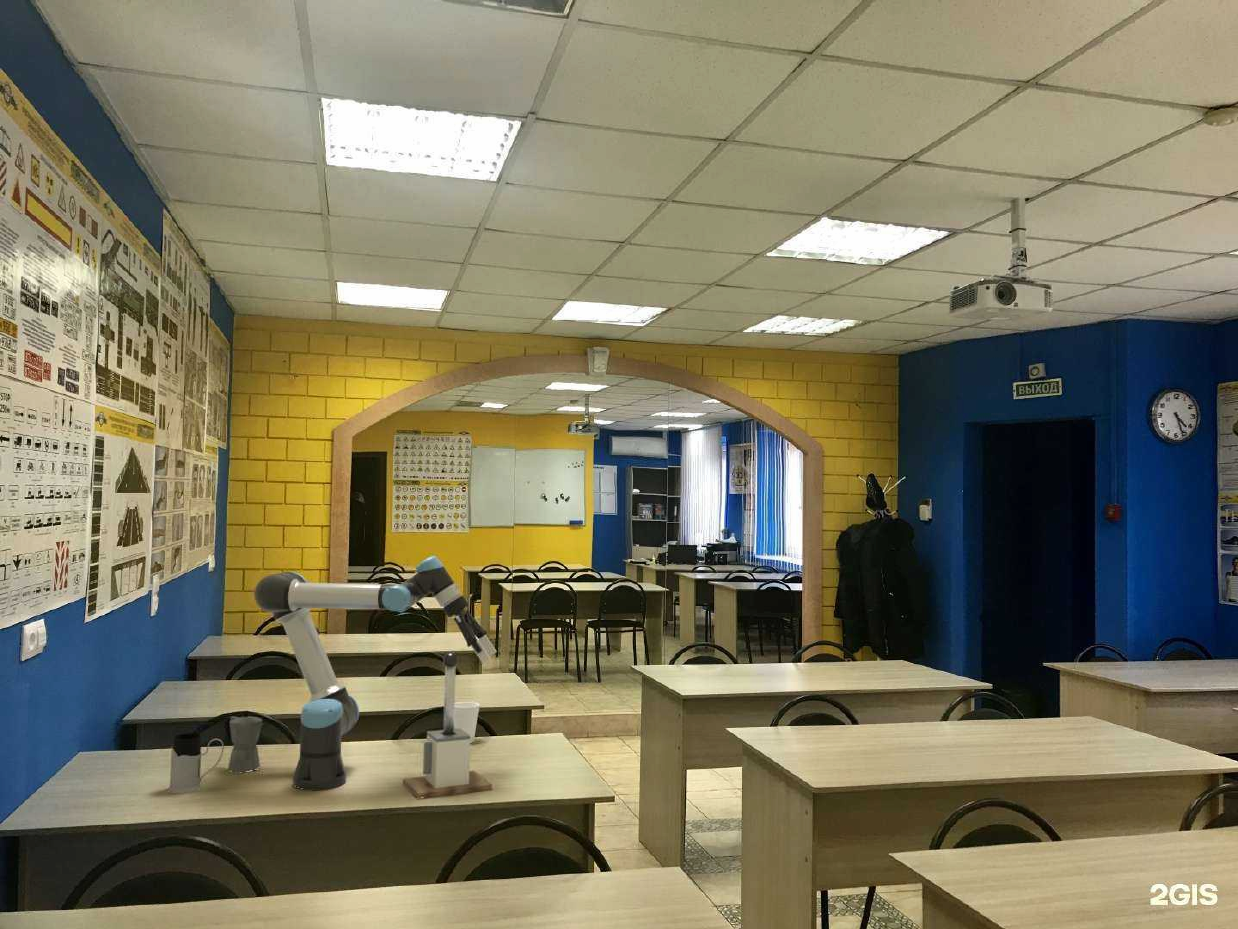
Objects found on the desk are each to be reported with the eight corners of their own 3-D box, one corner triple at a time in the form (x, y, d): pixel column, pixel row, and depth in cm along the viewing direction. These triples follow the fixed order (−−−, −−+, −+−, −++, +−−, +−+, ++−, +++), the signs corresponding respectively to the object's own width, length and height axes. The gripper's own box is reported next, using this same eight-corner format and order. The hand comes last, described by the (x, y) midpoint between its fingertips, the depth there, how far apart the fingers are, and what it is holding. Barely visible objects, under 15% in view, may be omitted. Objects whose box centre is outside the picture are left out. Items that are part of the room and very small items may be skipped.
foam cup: (481, 739, 329) (482, 702, 330) (474, 745, 320) (475, 708, 321) (455, 738, 330) (456, 701, 331) (447, 744, 321) (449, 706, 322)
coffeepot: (271, 768, 287) (273, 710, 288) (248, 776, 279) (251, 715, 280) (234, 762, 293) (236, 705, 294) (210, 769, 285) (213, 710, 286)
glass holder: (169, 786, 267) (171, 733, 268) (222, 782, 272) (224, 730, 273) (166, 795, 259) (168, 740, 259) (221, 790, 264) (223, 737, 264)
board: (417, 799, 259) (417, 793, 259) (402, 784, 273) (402, 779, 274) (491, 789, 270) (491, 784, 270) (473, 775, 284) (473, 770, 284)
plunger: (440, 746, 268) (443, 655, 269) (433, 740, 274) (435, 651, 275) (463, 743, 271) (466, 653, 272) (455, 738, 277) (458, 650, 278)
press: (428, 789, 264) (429, 739, 265) (418, 780, 273) (419, 732, 273) (468, 784, 270) (470, 735, 270) (458, 775, 278) (459, 728, 279)
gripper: (454, 597, 276) (494, 656, 275) (468, 591, 301) (505, 645, 300) (433, 612, 276) (473, 671, 275) (449, 604, 301) (486, 658, 300)
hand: (490, 657), depth 288 cm, fingers open, 13 cm apart
